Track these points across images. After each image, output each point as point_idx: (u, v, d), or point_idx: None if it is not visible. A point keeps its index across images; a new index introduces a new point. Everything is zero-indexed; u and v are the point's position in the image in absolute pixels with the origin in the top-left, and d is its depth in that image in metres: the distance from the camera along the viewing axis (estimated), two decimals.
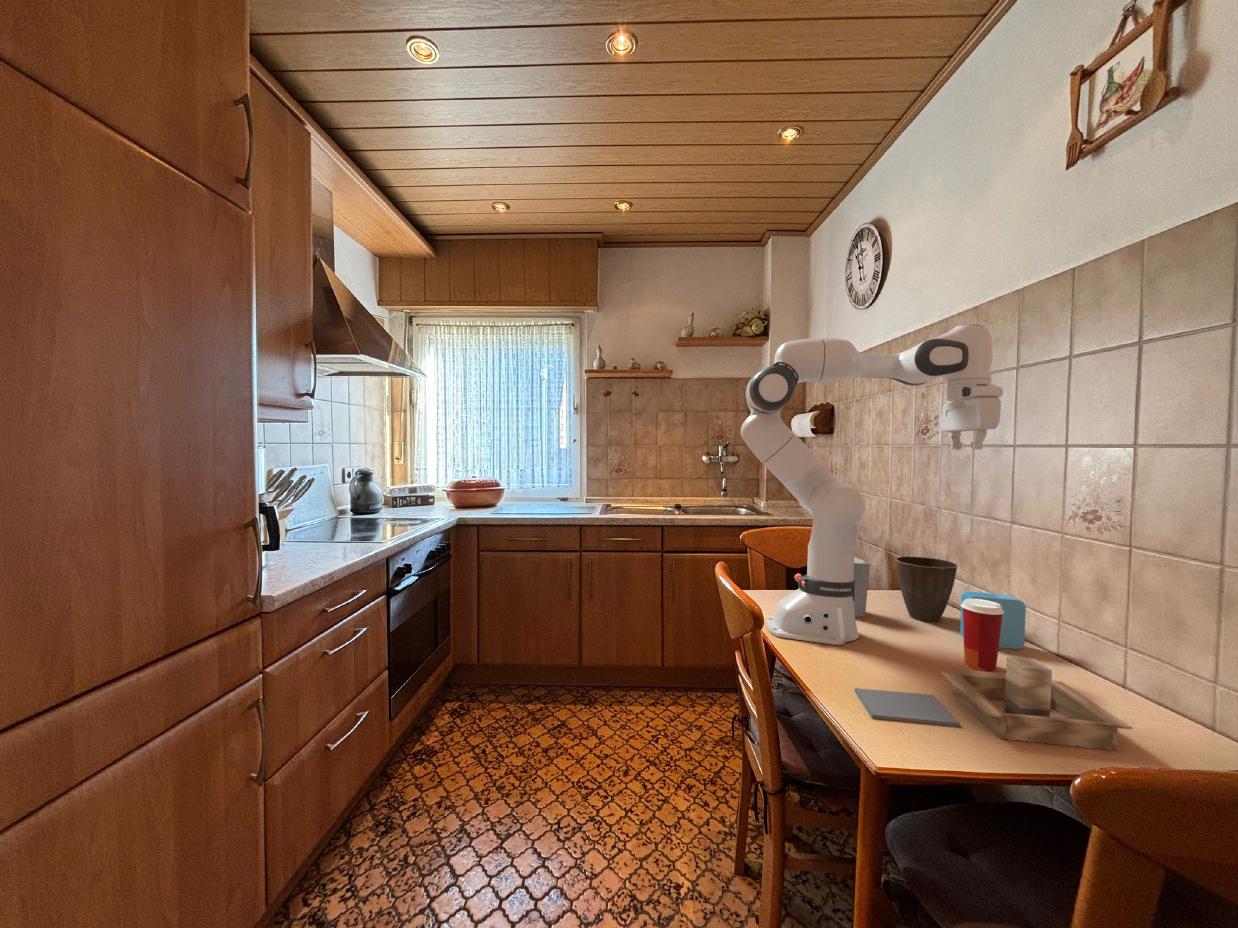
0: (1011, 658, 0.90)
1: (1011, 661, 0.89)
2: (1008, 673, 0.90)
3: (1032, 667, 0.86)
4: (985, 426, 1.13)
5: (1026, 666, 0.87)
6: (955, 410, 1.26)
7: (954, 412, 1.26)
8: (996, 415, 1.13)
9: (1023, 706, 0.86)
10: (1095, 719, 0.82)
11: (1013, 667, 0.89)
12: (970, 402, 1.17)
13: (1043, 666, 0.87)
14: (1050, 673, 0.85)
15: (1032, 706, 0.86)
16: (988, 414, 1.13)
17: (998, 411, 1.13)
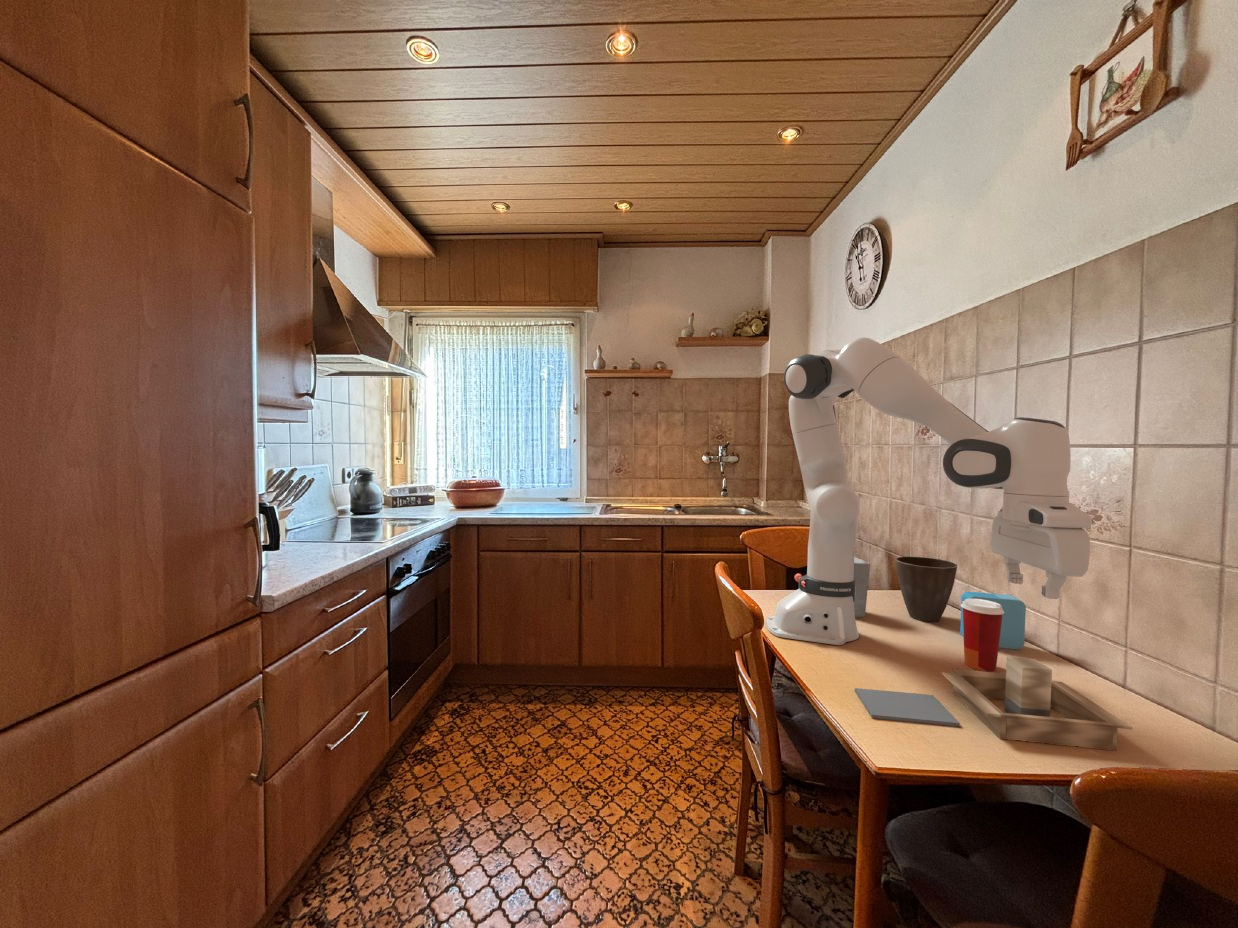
0: (1011, 658, 0.90)
1: (1011, 661, 0.89)
2: (1008, 673, 0.90)
3: (1031, 667, 0.86)
4: (1067, 574, 0.78)
5: (1026, 666, 0.87)
6: (1014, 531, 0.90)
7: (1012, 533, 0.91)
8: (1083, 558, 0.77)
9: (1023, 706, 0.86)
10: (1095, 719, 0.82)
11: (1013, 667, 0.89)
12: (1042, 532, 0.82)
13: (1043, 666, 0.87)
14: (1050, 673, 0.85)
15: (1032, 706, 0.86)
16: (1071, 556, 0.78)
17: (1086, 552, 0.77)
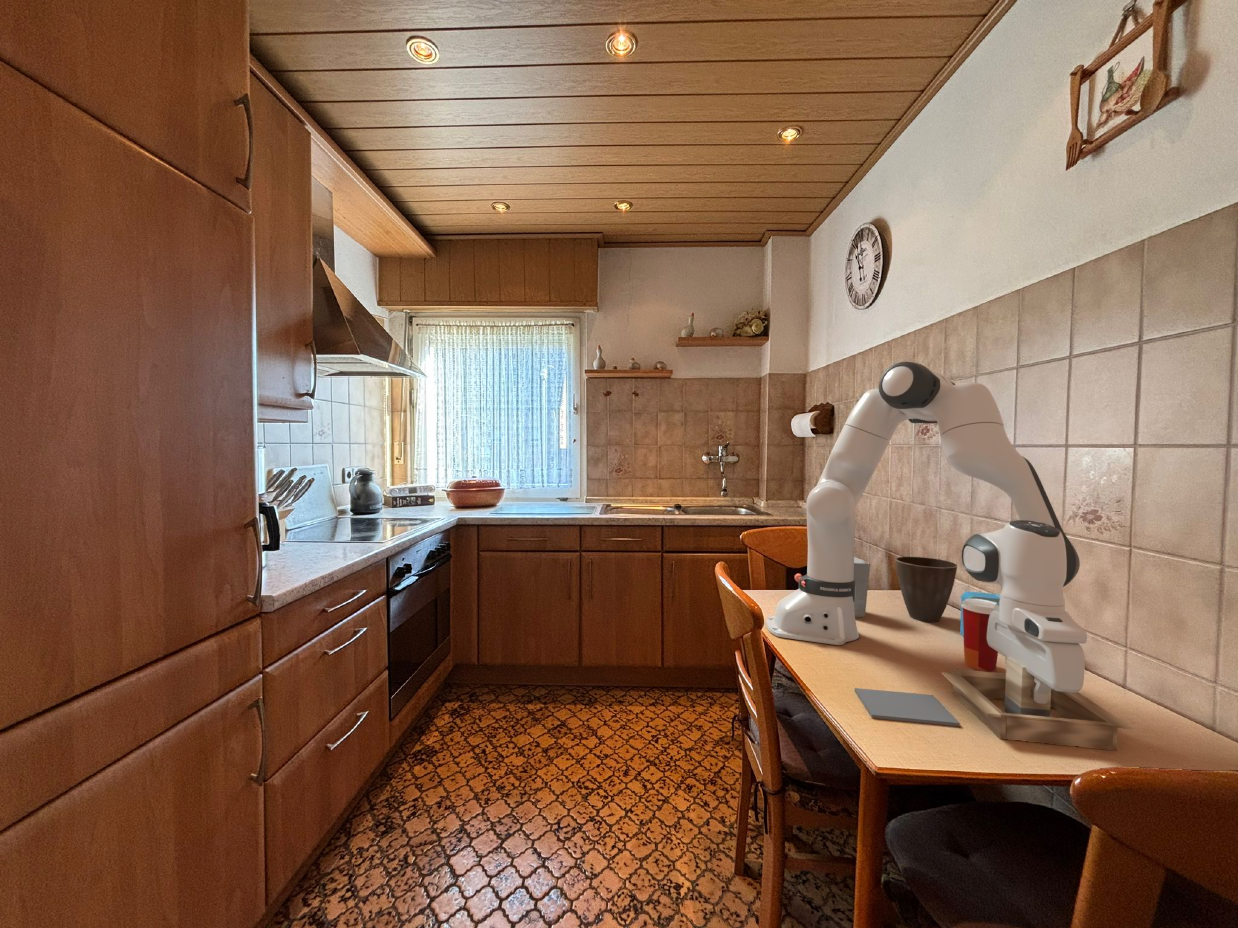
0: (1011, 658, 0.90)
1: (1011, 661, 0.89)
2: (1008, 673, 0.90)
3: None
4: (1063, 690, 0.78)
5: None
6: None
7: (1008, 633, 0.91)
8: (1078, 675, 0.78)
9: (1023, 706, 0.86)
10: (1095, 719, 0.82)
11: (1012, 667, 0.89)
12: (1037, 643, 0.82)
13: None
14: None
15: (1032, 706, 0.86)
16: (1066, 673, 0.78)
17: (1081, 669, 0.78)
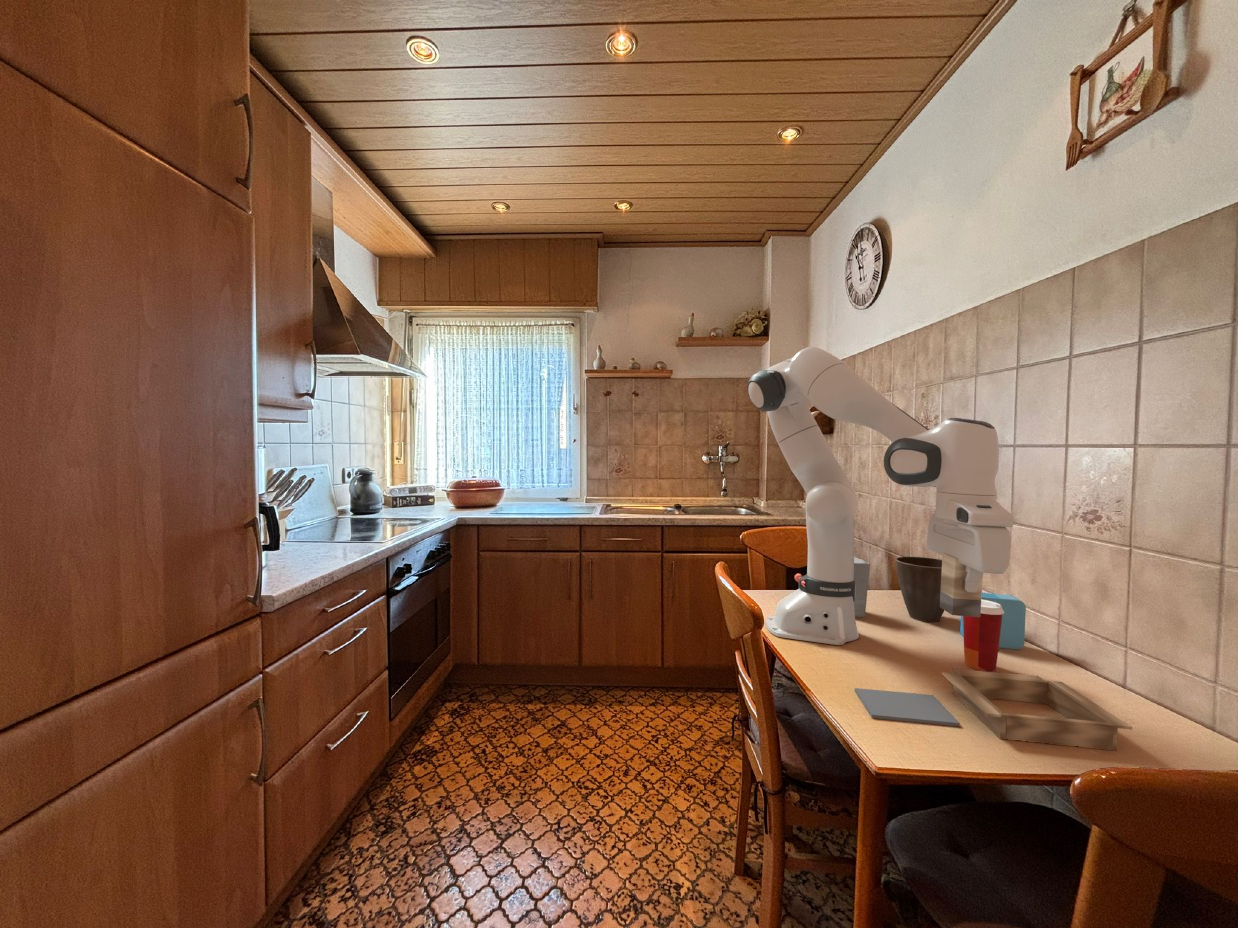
0: (946, 554, 0.91)
1: (946, 556, 0.91)
2: (943, 568, 0.91)
3: None
4: (989, 571, 0.80)
5: None
6: (946, 529, 0.92)
7: (945, 531, 0.93)
8: (1004, 556, 0.79)
9: (955, 597, 0.88)
10: (1095, 719, 0.82)
11: (947, 561, 0.90)
12: (967, 530, 0.84)
13: None
14: None
15: (964, 596, 0.88)
16: (992, 554, 0.80)
17: (1007, 550, 0.79)
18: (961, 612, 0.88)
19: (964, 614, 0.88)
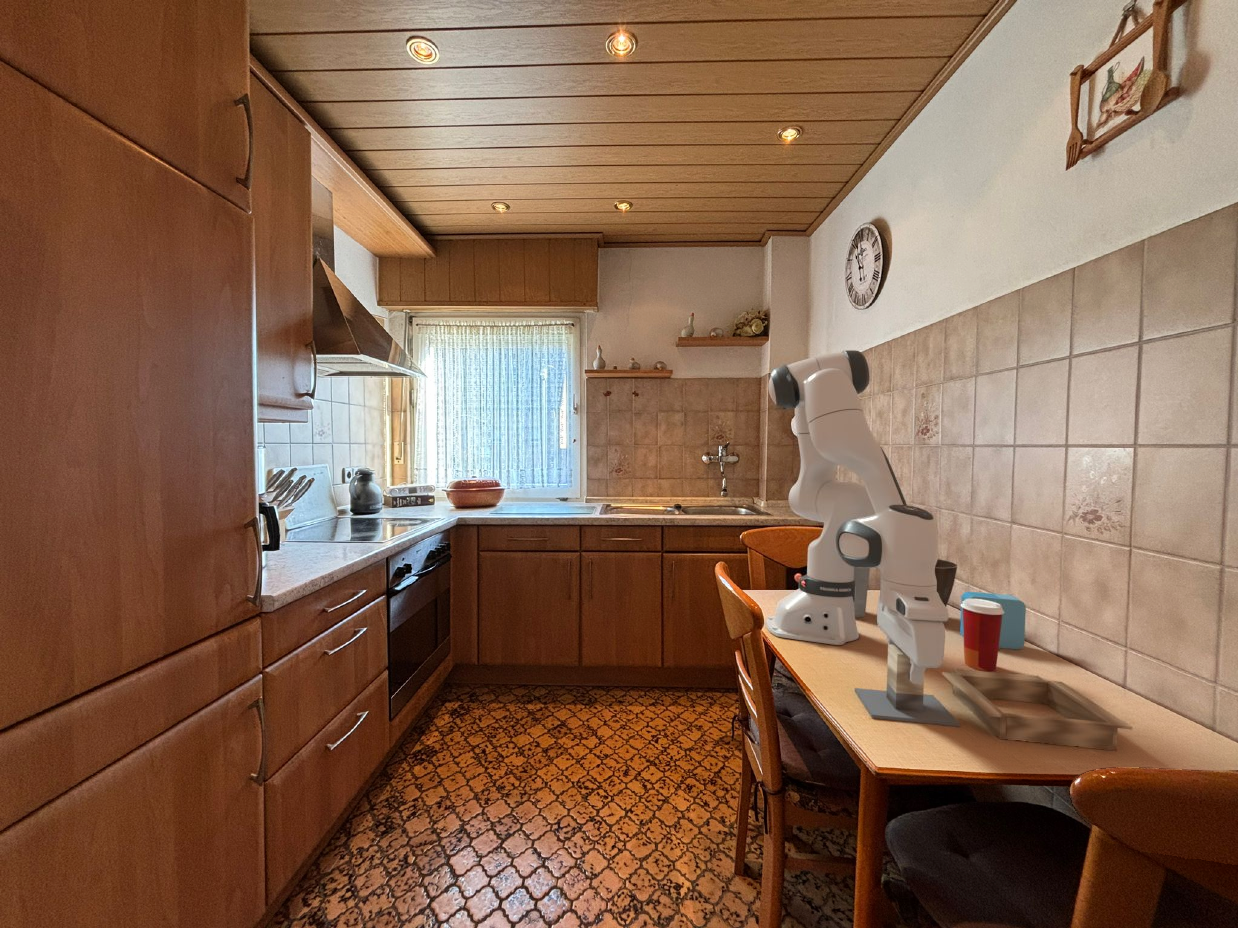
0: (891, 645, 0.93)
1: (890, 648, 0.92)
2: (889, 660, 0.93)
3: None
4: (924, 665, 0.82)
5: (901, 653, 0.90)
6: None
7: (890, 614, 0.94)
8: (938, 651, 0.81)
9: (898, 691, 0.89)
10: (1095, 719, 0.82)
11: (891, 654, 0.92)
12: (906, 622, 0.85)
13: None
14: None
15: (906, 691, 0.89)
16: (927, 649, 0.81)
17: (941, 646, 0.81)
18: (904, 706, 0.89)
19: (907, 708, 0.89)
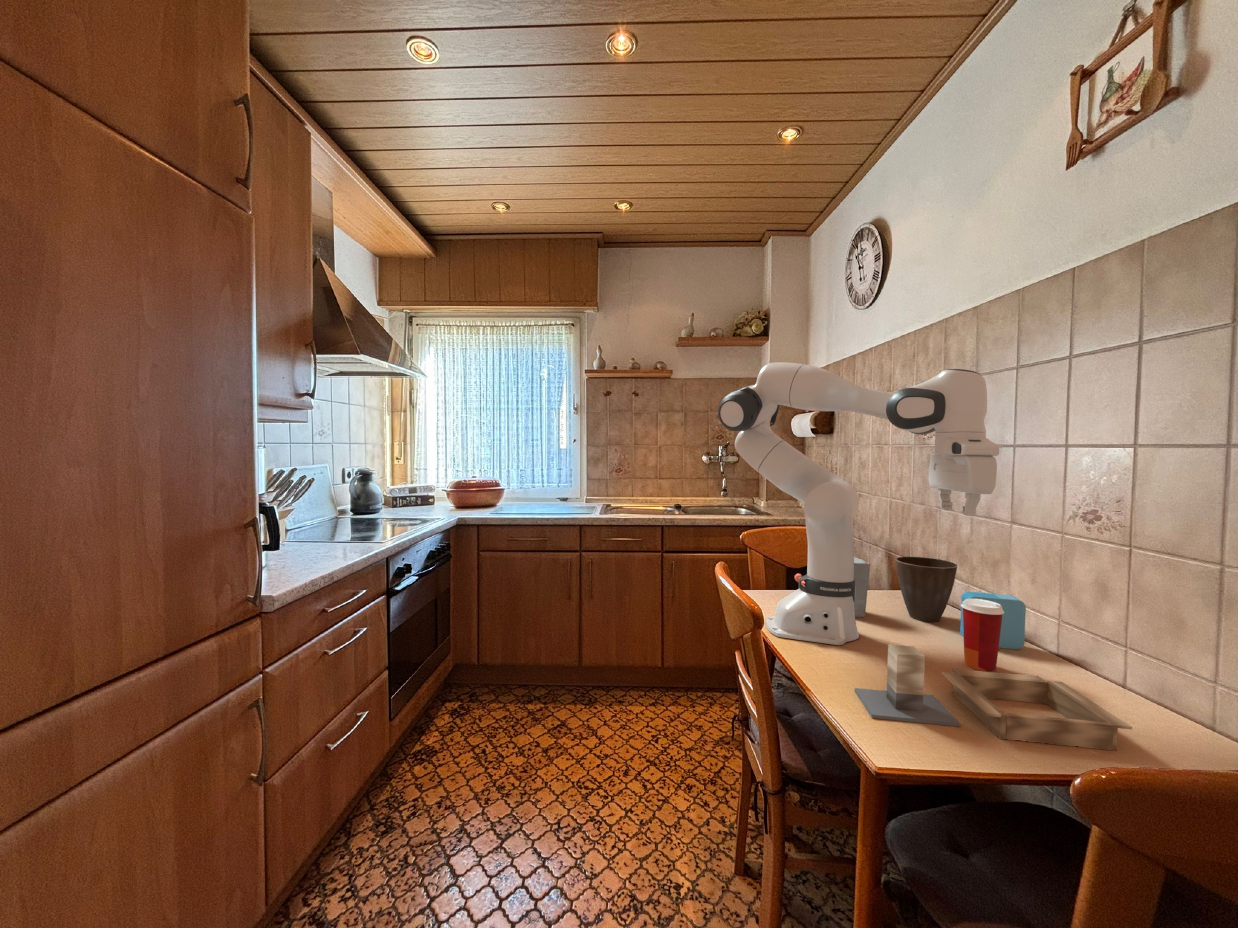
0: (891, 645, 0.93)
1: (890, 648, 0.92)
2: (889, 660, 0.93)
3: (906, 654, 0.89)
4: (979, 492, 0.96)
5: (901, 653, 0.90)
6: (944, 465, 1.08)
7: (943, 467, 1.09)
8: (991, 478, 0.95)
9: (898, 691, 0.89)
10: (1095, 719, 0.82)
11: (891, 654, 0.92)
12: (961, 461, 1.00)
13: (918, 653, 0.90)
14: (923, 659, 0.89)
15: (906, 691, 0.89)
16: (981, 477, 0.96)
17: (994, 474, 0.95)
18: (904, 706, 0.89)
19: (907, 708, 0.89)
